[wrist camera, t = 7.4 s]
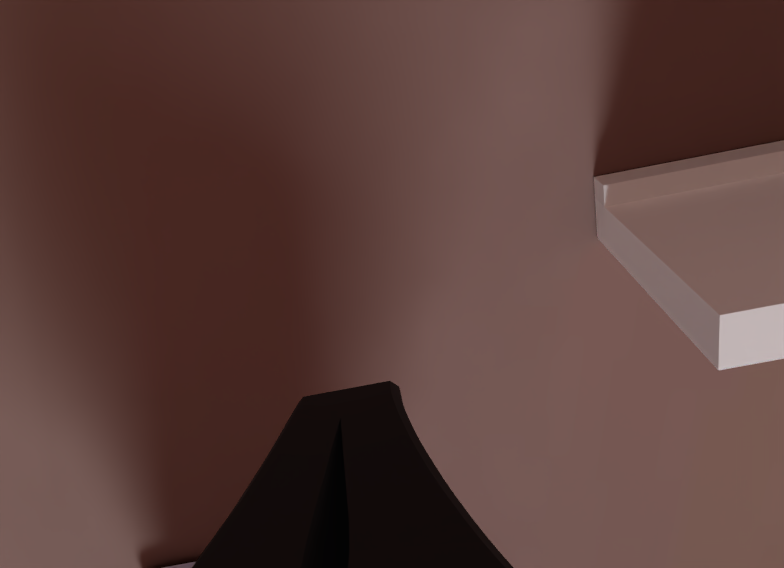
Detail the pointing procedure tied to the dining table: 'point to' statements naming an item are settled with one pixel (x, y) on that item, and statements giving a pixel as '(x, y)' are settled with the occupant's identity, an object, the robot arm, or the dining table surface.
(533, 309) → the dining table surface
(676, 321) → the wall shelf
